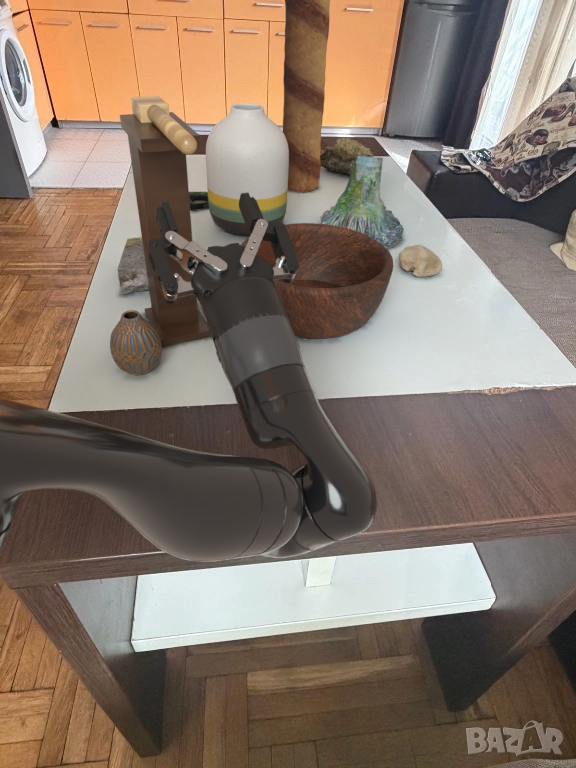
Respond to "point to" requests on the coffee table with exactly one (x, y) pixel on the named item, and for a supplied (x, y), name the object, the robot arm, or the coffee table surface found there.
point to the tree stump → (365, 205)
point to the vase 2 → (246, 167)
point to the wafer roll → (304, 89)
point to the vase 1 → (135, 344)
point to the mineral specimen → (343, 155)
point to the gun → (198, 197)
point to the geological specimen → (133, 267)
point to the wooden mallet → (163, 121)
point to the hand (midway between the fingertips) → (204, 202)
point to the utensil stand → (155, 185)
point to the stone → (420, 261)
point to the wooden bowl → (331, 279)
